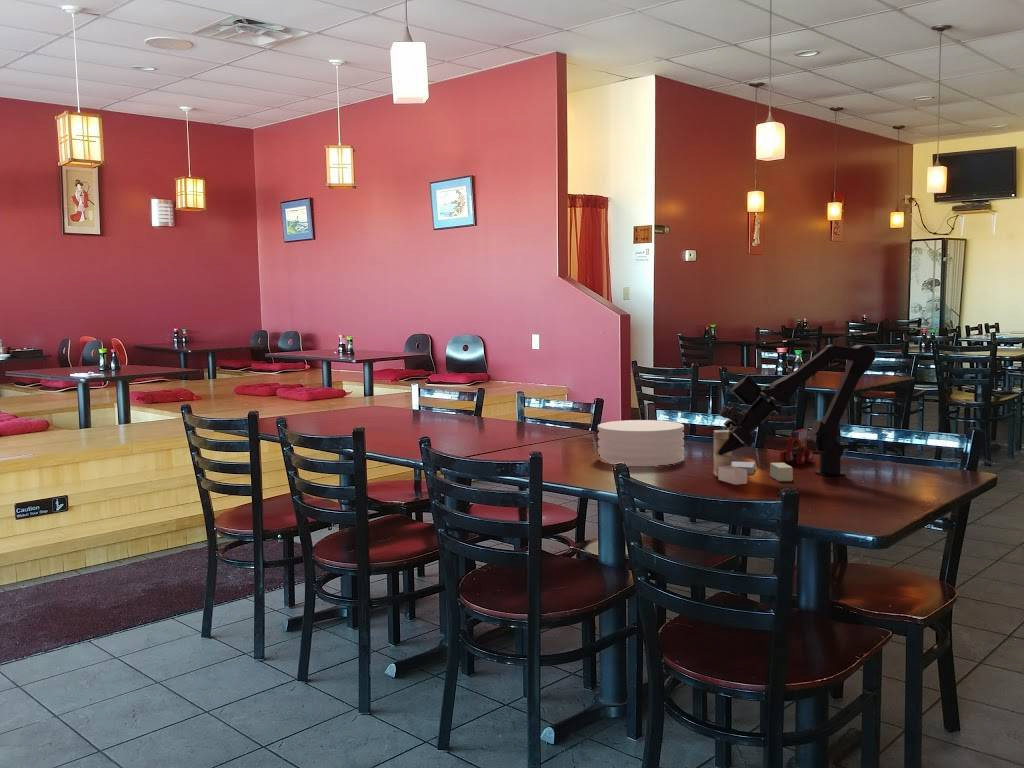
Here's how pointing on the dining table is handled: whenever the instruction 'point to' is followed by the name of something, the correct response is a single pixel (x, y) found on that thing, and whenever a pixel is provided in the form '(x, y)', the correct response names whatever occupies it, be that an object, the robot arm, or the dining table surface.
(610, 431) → the plate stack
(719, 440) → the birch pillar
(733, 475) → the cream brick
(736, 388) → the robot arm
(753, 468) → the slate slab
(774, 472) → the sage brick
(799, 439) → the toy fire truck
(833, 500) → the dining table surface
